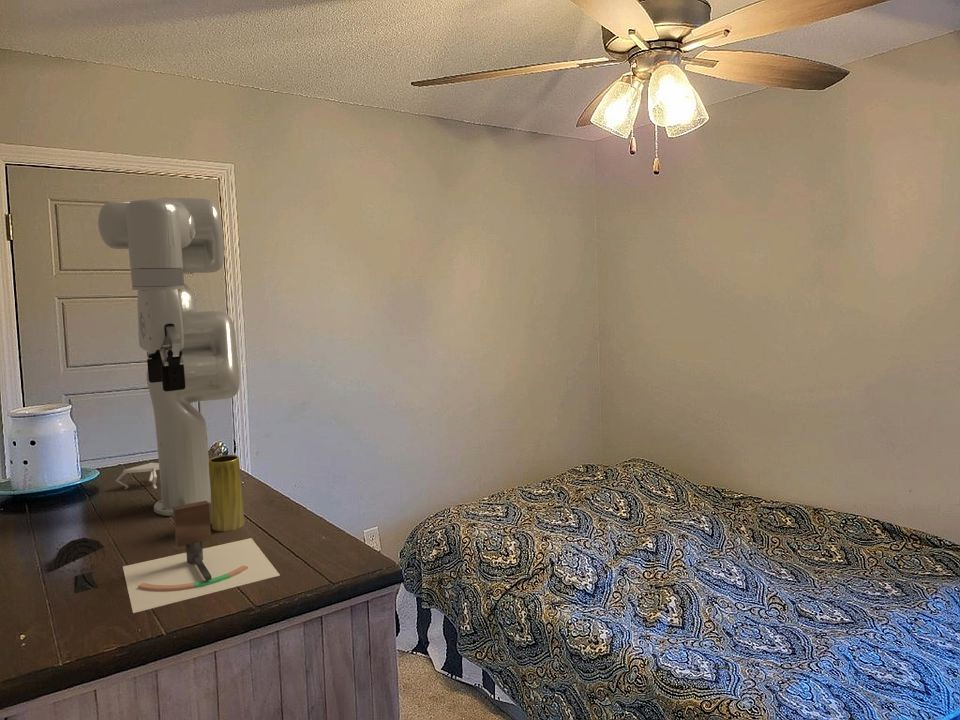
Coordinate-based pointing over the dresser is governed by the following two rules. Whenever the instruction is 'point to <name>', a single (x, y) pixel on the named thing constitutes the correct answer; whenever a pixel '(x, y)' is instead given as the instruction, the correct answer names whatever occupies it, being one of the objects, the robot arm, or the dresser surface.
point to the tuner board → (195, 574)
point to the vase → (226, 493)
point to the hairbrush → (73, 553)
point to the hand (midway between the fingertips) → (166, 385)
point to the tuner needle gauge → (193, 531)
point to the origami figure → (142, 468)
